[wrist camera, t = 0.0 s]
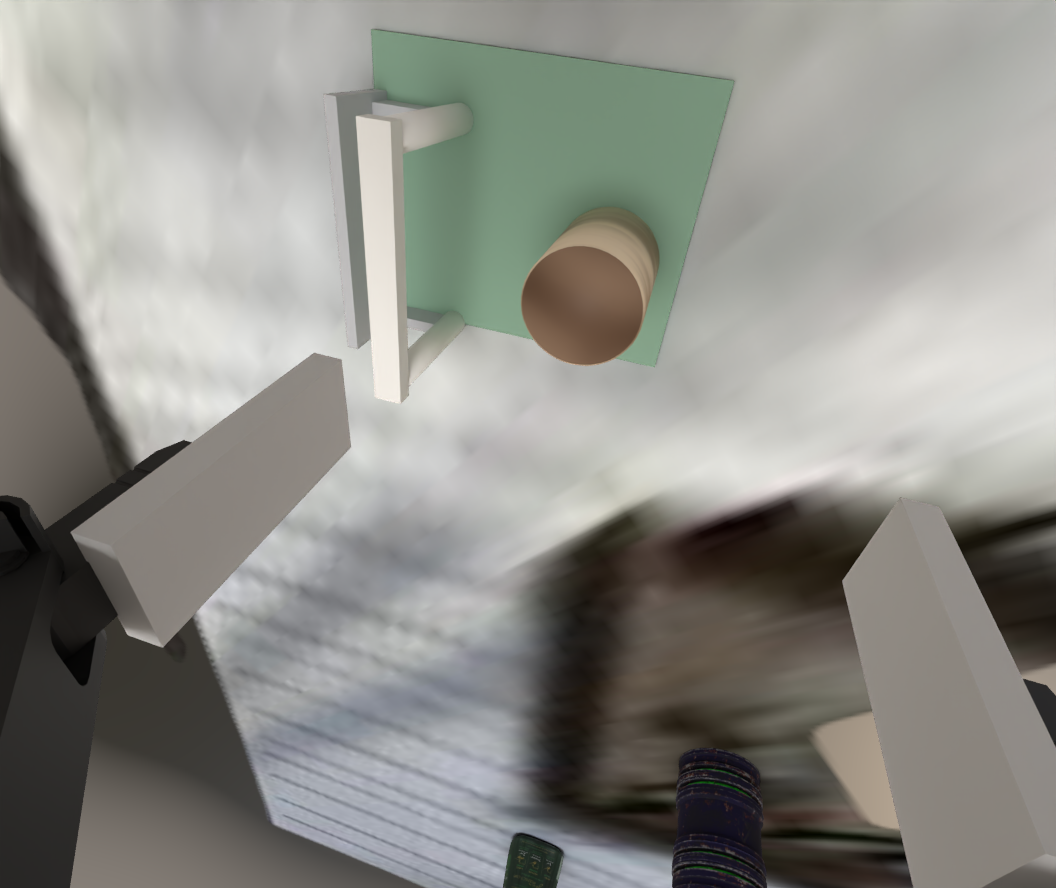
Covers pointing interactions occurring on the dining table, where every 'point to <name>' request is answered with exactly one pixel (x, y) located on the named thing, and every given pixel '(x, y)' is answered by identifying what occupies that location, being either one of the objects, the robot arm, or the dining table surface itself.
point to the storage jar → (718, 822)
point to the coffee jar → (532, 864)
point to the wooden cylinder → (592, 287)
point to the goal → (384, 228)
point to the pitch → (543, 169)
